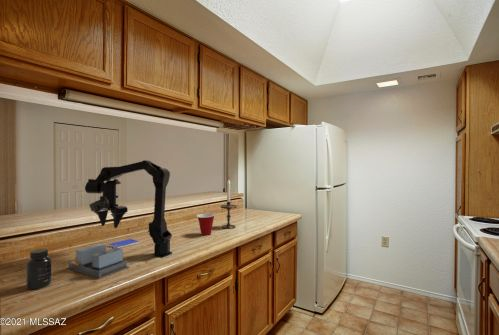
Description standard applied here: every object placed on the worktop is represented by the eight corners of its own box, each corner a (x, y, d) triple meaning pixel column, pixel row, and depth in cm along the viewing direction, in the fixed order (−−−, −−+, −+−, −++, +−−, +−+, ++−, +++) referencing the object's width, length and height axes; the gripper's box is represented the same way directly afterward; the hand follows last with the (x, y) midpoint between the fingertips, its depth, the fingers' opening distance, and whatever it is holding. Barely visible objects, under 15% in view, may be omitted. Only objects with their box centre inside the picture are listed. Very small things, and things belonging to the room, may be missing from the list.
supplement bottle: (21, 288, 90) (21, 252, 90) (43, 280, 97) (43, 246, 97) (34, 291, 88) (34, 254, 88) (56, 283, 94) (56, 248, 94)
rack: (98, 259, 119) (98, 242, 119) (129, 267, 109) (129, 249, 109) (67, 268, 108) (67, 249, 107) (99, 278, 98) (99, 258, 98)
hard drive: (116, 246, 133) (138, 240, 144) (107, 243, 138) (129, 238, 148) (116, 249, 133) (138, 243, 144) (107, 246, 138) (129, 241, 148)
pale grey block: (99, 259, 117) (99, 243, 116) (105, 261, 115) (105, 244, 115) (75, 267, 108) (75, 249, 108) (81, 269, 106) (81, 251, 106)
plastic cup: (195, 232, 166) (195, 213, 165) (213, 231, 169) (213, 212, 169) (197, 237, 155) (197, 216, 155) (216, 235, 159) (216, 215, 158)
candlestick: (237, 228, 176) (238, 175, 176) (221, 229, 174) (221, 175, 174) (235, 225, 187) (235, 174, 187) (219, 225, 185) (219, 174, 184)
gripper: (80, 194, 125) (80, 228, 125) (105, 196, 116) (105, 233, 116) (103, 192, 135) (103, 223, 135) (128, 194, 126) (128, 227, 126)
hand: (109, 226), depth 128 cm, fingers open, 9 cm apart
